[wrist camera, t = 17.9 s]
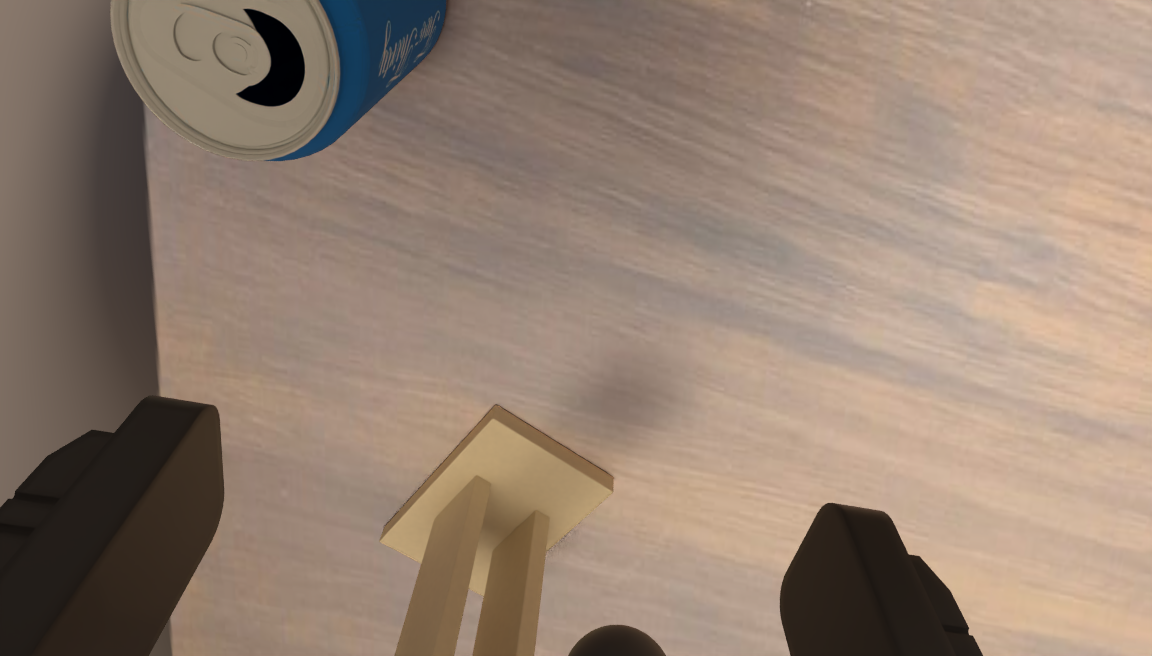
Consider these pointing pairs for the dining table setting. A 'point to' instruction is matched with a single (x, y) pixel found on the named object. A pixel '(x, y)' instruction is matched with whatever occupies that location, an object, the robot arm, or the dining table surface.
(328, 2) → the beverage can
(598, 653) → the press lever
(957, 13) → the dining table surface
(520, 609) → the lever bracket
